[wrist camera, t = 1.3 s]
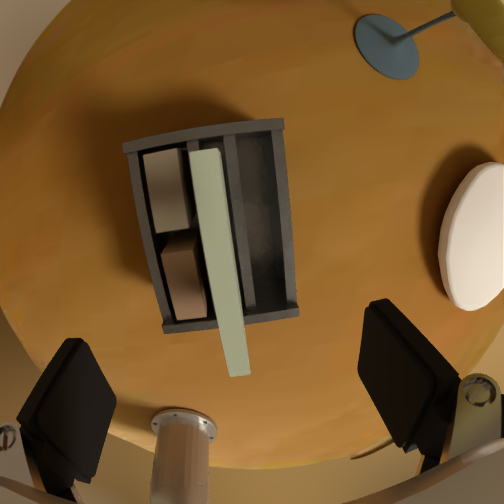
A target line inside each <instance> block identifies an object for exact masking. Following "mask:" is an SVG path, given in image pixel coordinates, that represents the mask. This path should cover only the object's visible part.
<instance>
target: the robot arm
mask: <svg viewBox="0 0 504 504" xmlns="http://www.w3.org/2000/svg"><path fill="white" fill-rule="evenodd" d="M358 374H359V377H360V379H361V381H362V382H363V384H364V386H365V388H366V390H367V391H368V393H369V395H370V397H371V399H372V401H373V403H374V404H375V406H376V408H377V410H378V412H379V414H380V416H381V417H382V419H383V421H384V423H385V425H386V427H387V429H388V431H389V433H390V435H391V436H392V438H393V440H394V442H395V444H396V446H397V447H399V448H401V447H402V448H403V450H404V452H405V453H408V452H410V451H412V450H414V449H417V448H418V449H419V451H420V453H421V459H420V462H419V465H418V468H417V471H416V474H415V477H413V478H411V479H409V480H406V481H404V482H402V483H399V484H397V485H394V486H392V487H389V488H387V489H384V490H382V491H379V492H376V493H373V494H371V495H368V496H365V497H362V498H359V499H356V500H353V501H349V502H346V503H343V504H504V394H501V392H500V387H499V386H498V384H497V382H496V381H495V380H494V379H492V378H491V377H489V376H487V375H484V374H479V373H475V374H471V375H468V376H466V377H465V378H463V380H461V379H460V378H459V377H458V375H459V374H458V373H457V371H456V370H455V369H454V368H453V367H452V366H451V365H450V364H449V362H448V361H447V360H446V359H445V358H444V357H443V356H442V355H441V354H440V352H439V351H438V350H437V349H436V348H435V347H434V346H433V345H432V344H431V343H430V342H429V340H428V339H427V338H426V337H425V336H424V335H423V334H422V333H421V332H420V331H419V330H418V329H417V328H416V327H415V326H414V325H413V324H412V323H411V322H410V320H409V319H408V318H407V317H406V316H405V315H404V314H403V313H402V312H401V311H400V310H399V309H398V308H397V307H396V306H395V305H394V304H393V303H392V302H391V301H390V300H389V299H387V298H385V299H381V300H376V301H372V302H370V304H369V307H366V308H365V312H364V322H363V331H362V339H361V347H360V354H359V361H358ZM115 407H116V396H115V394H114V392H113V391H112V389H111V387H110V385H109V384H108V382H107V380H106V378H105V376H104V375H103V373H102V371H101V369H100V367H99V365H98V363H97V361H96V359H95V357H94V355H93V353H92V351H91V349H90V347H89V345H88V344H87V343H86V342H84V340H83V339H81V338H67V339H66V340H65V341H64V342H63V344H62V345H61V346H60V348H59V349H58V351H57V352H56V354H55V355H54V357H53V358H52V360H51V361H50V363H49V364H48V366H47V368H46V369H45V371H44V372H43V374H42V376H41V377H40V379H39V380H38V382H37V383H36V385H35V387H34V388H33V390H32V392H31V394H30V395H29V397H28V398H27V400H26V402H25V404H24V405H23V407H22V409H21V411H20V412H19V415H18V416H17V418H16V420H17V421H18V422H19V423H20V424H21V427H20V429H19V427H18V426H17V425H16V424H14V423H12V422H5V423H2V424H0V504H84V503H83V501H82V499H81V497H80V495H79V493H78V491H77V489H76V487H75V485H74V483H73V482H74V479H76V480H77V481H81V482H84V483H88V484H90V482H91V478H92V477H94V476H95V474H96V470H97V467H98V463H99V459H100V456H101V452H102V448H103V445H104V442H105V438H106V435H107V432H108V428H109V425H110V422H111V419H112V416H113V413H114V410H115ZM151 428H152V430H153V432H154V433H155V434H156V435H157V441H156V447H155V454H154V461H153V468H152V476H151V482H150V491H149V501H150V504H209V443H211V442H212V441H213V440H215V438H216V436H217V427H216V425H215V423H214V422H213V421H212V420H211V419H210V418H208V417H207V416H205V415H203V414H201V413H198V412H195V411H192V410H187V409H167V410H163V411H160V412H158V413H157V414H155V415H154V417H153V418H152V422H151Z"/></svg>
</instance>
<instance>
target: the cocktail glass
mask: <svg viewBox="0 0 504 504" xmlns="http://www.w3.org/2000/svg"><path fill="white" fill-rule="evenodd" d="M451 8H452V11H451V12H449V13H447V14H445V15H442V16H440V17H438V18H436V19H434V20H432V21H430V22H428V23H426V24H423V25H421V26H419V27H417V28H415V29H413V30H411V31H409V32H407V31H406V30H405V29H404V28H403V27H402V26H401V25H400V24H398V23H397V22H396V21H394V20H392V19H390V18H388V17H386V16H382V15H376V14H373V15H367V16H365V17H363V18H361V19H360V20H359V22H358V23H357V25H356V28H355V39H356V43H357V46H358V48H359V50H360V52H361V54H362V55H363V57H364V58H365V59H366V61H367V62H368V63H369V64H370V65H371V66H372V67H373V68H374V69H376V70H377V71H378V72H380V73H381V74H383V75H385V76H387V77H389V78H393V79H399V80H400V79H407V78H409V77H411V76H413V75H414V74H415V72H416V71H417V69H418V65H419V54H418V50H417V47H416V45H415V42H414V41H413V39H412V36H414V35H416V34H418V33H420V32H421V31H423V30H425V29H427V28H429V27H432V26H434V25H436V24H438V23H440V22H442V21H445V20H447V19H449V18H452V17H454V16H457V17H458V18H459V19H461V20H463V21H465V22H468V23H469V25H470V26H471V27H472V28H473V30H474V31H475V32H476V33H477V35H478V36H479V37H480V38H481V39H482V41H483V42H484V43H485V44H486V46H487V47H488V48H489V49H490V50H491V51H492V52H493V53H494V55H496V56H497V57H498V58H499V59H500V60H501V61H502V62H503V63H504V0H451Z"/></svg>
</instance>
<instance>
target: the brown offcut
mask: <svg viewBox="0 0 504 504" xmlns="http://www.w3.org/2000/svg"><path fill="white" fill-rule="evenodd" d="M143 159H144V166H145V173H146V179H147V185H148V191H149V197H150V203H151V209H152V214H153V219H154V225H155V230H156V233H160V232H166V231H173V230H179V229H186V228H189V227H190V225H191V223H192V221H193V219H194V217H195V215H196V213H197V211H196V204H195V198H194V191H193V184H192V177H191V170H190V163H189V155H188V151H186V150H182V149H178V148H175V149H170V150H165V151H160V152H155V153H150V154H145V155H143Z"/></svg>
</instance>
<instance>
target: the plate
mask: <svg viewBox="0 0 504 504" xmlns="http://www.w3.org/2000/svg"><path fill="white" fill-rule="evenodd" d="M438 259H439V265H440V272H441V278H442V281H443V285H444V288H445V290H446V293H447V295H448V298H449V299H450V301H451V302H452V303H453V304H454V305H455V306H456V307H458V308H461V309H464V310H466V311H473V310H476V309H479V308H481V307H483V306H485V305H486V304H488V303H489V302H490V301H491V300H492V299H494V298H495V297H496V296H497V295H498V294H499V293H500V291H501V290H502V289H503V288H504V165H503V164H501V163H496V162H487V163H484V164H481V165H477V166H476V167H475V168H473V169H472V170H471V171H469V173H468V174H467V175H466V177H465V178H464V179H463V181H462V182H461V183H460V185H459V186H458V188H457V190H456V191H455V193H454V195H453V196H452V199H451V201H450V203H449V205H448V207H447V210H446V212H445V215H444V219H443V222H442V226H441V230H440V239H439V247H438Z"/></svg>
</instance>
